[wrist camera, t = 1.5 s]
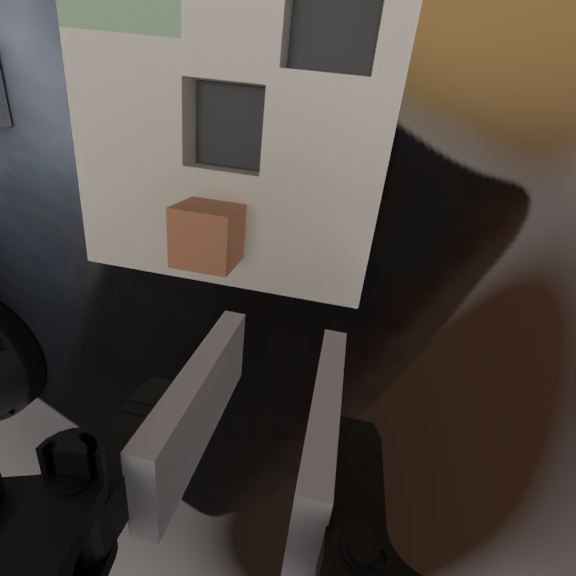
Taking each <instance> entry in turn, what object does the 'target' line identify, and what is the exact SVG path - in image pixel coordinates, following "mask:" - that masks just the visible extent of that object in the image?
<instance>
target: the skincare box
mask: <svg viewBox="0 0 576 576" xmlns="http://www.w3.org/2000/svg"><path fill="white" fill-rule="evenodd" d="M11 126H12V123H11V118H10V114H9V109H8V104H7V99H6V94H5V89H4V84H3V79H2V74H1V69H0V128H9V127H11Z"/></svg>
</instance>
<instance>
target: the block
mask: <svg viewBox="0 0 576 576" xmlns="http://www.w3.org/2000/svg"><path fill="white" fill-rule="evenodd" d="M246 207H247V204H240V203H234V202H227V201H220V200H214V199H207V198H200V197H194V196H192V197H190V198H188V199H185V200H183V201H181V202H178V203H176V204H173V205H171V206H169V207H166V221H167V255H168V268H173V269H179V270H185V271H190V272H196V273H202V274H208V275H213V276H219V277H225V278H226V277H227V276H228V275H229V273H230V272H231V271H232V270H233V269H234V268H235V267H236V266H237V264H238V263H239V262H240V261H241V260H242V259H243V256H244V240H245V224H246Z"/></svg>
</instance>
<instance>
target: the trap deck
mask: <svg viewBox="0 0 576 576" xmlns="http://www.w3.org/2000/svg"><path fill="white" fill-rule="evenodd" d="M422 1H423V0H385V1H384V0H56V6H57V14H58V22H59V30H60V38H61V46H62V54H63V62H64V71H65V79H66V87H67V95H68V103H69V111H70V119H71V127H72V135H73V143H74V151H75V159H76V167H77V175H78V184H79V192H80V200H81V208H82V216H83V224H84V232H85V240H86V248H87V256H88V261H92V262H98V263H104V264H109V265H115V266H120V267H126V268H132V269H137V270H143V271H148V272H154V273H160V274H165V275H171V276H176V277H182V278H188V279H193V280H199V281H205V282H210V283H216V284H221V285H227V286H233V287H238V288H244V289H249V290H255V291H261V292H266V293H272V294H277V295H283V296H289V297H294V298H300V299H305V300H311V301H317V302H322V303H328V304H333V305H339V306H345V307H350V308H356V309H358V306H359V301H360V297H361V292H362V287H363V282H364V278H365V273H366V268H367V263H368V259H369V254H370V249H371V244H372V240H373V235H374V230H375V225H376V220H377V216H378V211H379V206H380V201H381V197H382V192H383V187H384V182H385V178H386V173H387V168H388V163H389V159H390V154H391V149H392V144H393V140H394V135H395V130H396V125H397V121H398V116H399V111H400V106H401V102H402V97H403V92H404V87H405V82H406V77H407V73H408V68H409V63H410V59H411V54H412V49H413V44H414V40H415V34H416V30H417V25H418V21H419V16H420V11H421V6H422ZM293 2H294V3H293ZM383 2H384V6H383ZM382 7H383V12H382ZM292 12H293V14H292ZM381 13H382V19H381ZM380 19H381V24H380ZM291 23H292V25H291ZM379 25H380V29H379ZM378 30H379V35H378ZM290 34H291V36H290ZM377 36H378V41H377ZM376 42H377V47H376ZM289 45H290V47H289ZM375 47H376V52H375ZM374 53H375V58H374ZM288 56H289V57H288ZM373 58H374V63H373ZM372 64H373V69H372ZM287 66H288V68H287ZM371 70H372V75H371ZM370 76H371V77H370ZM198 80H204V81H198ZM207 81H213V82H207ZM216 82H222V83H216ZM225 83H231V84H225ZM234 84H240V85H234ZM243 85H249V86H243ZM252 86H258V87H252ZM261 87H266V88H261ZM197 162H199V163H197ZM204 163H206V164H204ZM211 164H213V165H211ZM218 165H221V166H218ZM226 166H228V167H226ZM233 167H235V168H233ZM240 168H242V169H240ZM247 169H250V170H247ZM255 170H257V171H255ZM192 196H194V197H200V198H207V199H214V200H220V201H227V202H234V203H240V204H247V207H246V224H245V240H244V256H243V259H242V260H241V261H240V262H239V263H238V264H237V266H236V267H235V268H234V269H233V270H232V271H231V272H230V273H229V275H228V276H227V277H226V278H225V277H219V276H213V275H208V274H202V273H196V272H190V271H185V270H179V269H173V268H168V255H167V221H166V207H169V206H171V205H173V204H176V203H178V202H181V201H183V200H185V199H188V198H190V197H192Z"/></svg>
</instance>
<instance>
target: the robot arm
mask: <svg viewBox="0 0 576 576" xmlns="http://www.w3.org/2000/svg"><path fill="white" fill-rule="evenodd" d="M244 325H245V314H240V313H235V312H229V311H225V312H224V313H223V314H222V316H221V317H220V318H219V320H218V321H217V323H216V324H215V325H214V327H213V328H212V329H211V331H210V332H209V333H208V335H207V336H206V337H205V339H204V340H203V342H202V343H201V344H200V346H199V347H198V348H197V350H196V351H195V352H194V354H193V355H192V356H191V358H190V359H189V361H188V362H187V363H186V365H185V366H184V367H183V369H182V370H181V371H180V373H179V374H178V375H177V377H176V378H175V379H174V381H170V380H165V379H161V378H156V377H154V378H152V379H151V380H149V381H147V382H146V383H144V384H142V385H141V386H139V387H138V388H137V389H136V390H135V392H134V393H133V394H132V395H131V396H130V397H129V399H128V401H127V402H125V403H124V405H123V406H122V407H121V408H120V409H119V412H118V413H116V414H115V415H114V416H113V417H112V419H111V420H110V421H109V422H108V423H107V424H106V426H105V427H104V428H103V429H102V430H101V431H100V433H98V432H97V431H96V430H92V429H89V428H71V429H67V430H64V431H61V432H58V433H56V434H54V435H52V436H51V437H49V438H47V439H45V440H44V442H42V443H41V444H40V445H39V446H38V447H37V448H36V453H37V457H38V461H39V465H40V469H41V474H40V475H30V476H14V477H1V473H0V576H108V575H109V572H110V570H111V568H112V565H113V563H114V560H115V558H116V554H117V549H118V543H117V539H118V536H119V535H120V533H121V532H122V530H123V528H124V527H125V525H126V523H127V522H128V528H129V535H130V536H132V537H136V538H140V539H143V540H147V541H151V542H154V543H158V544H159V543H160V541H161V539H162V537H163V535H164V533H165V531H166V529H167V527H168V525H169V523H170V521H171V518H172V516H173V514H174V512H175V510H176V508H177V506H178V504H179V502H180V500H181V498H182V496H183V494H184V492H185V490H186V488H187V486H188V483H189V481H190V479H191V477H192V475H193V473H194V471H195V469H196V467H197V465H198V463H199V461H200V459H201V457H202V455H203V453H204V450H205V448H206V446H207V444H208V442H209V440H210V438H211V436H212V434H213V432H214V430H215V428H216V426H217V424H218V422H219V420H220V418H221V415H222V413H223V411H224V409H225V407H226V405H227V403H228V401H229V399H230V397H231V395H232V393H233V391H234V389H235V387H236V385H237V383H238V380H239V378H240V376H241V369H242V355H243V340H244ZM346 335H347V333H342V332H336V331H331V330H326V329H325V334H324V339H323V345H322V350H321V355H320V361H319V366H318V372H317V377H316V383H315V388H314V393H313V399H312V404H311V410H310V415H309V421H308V426H307V432H306V437H305V442H304V448H303V453H302V459H301V464H300V470H299V475H298V480H297V486H296V491H295V497H294V503H293V509H292V515H291V521H290V526H289V532H288V538H287V544H286V550H285V556H284V561H283V567H282V573H281V576H422V575H421V574H419V573H417V572H416V571H415V570H413V569H412V568H411V567H409V566H408V565H407V564H406V563H405V562H404V561H403V560H402V559H401V557H400V556H399V555H398V554H397V552H396V551H395V549H394V547H393V546H392V544H391V541H390V539H389V536H388V533H387V526H386V512H385V494H384V477H383V459H382V442H381V437H380V435H379V433H378V431H377V430H376V428H375V426H374V424H373V423H371V422H366V421H362V420H357V419H353V418H348V417H343V416H340V412H341V399H342V387H343V374H344V361H345V348H346ZM45 378H46V371H45V364H44V360H43V357H42V354H41V351H40V349H39V347H38V345H37V343H36V341H35V340H34V338H33V336H32V335H31V333H30V332H29V331H28V329H27V328H26V327H25V326H24V325H23V323H22V322H21V321H20V320H19V319H18V318H17V317H16V316H15V315H14V314H13V313H12V312H10V311H9V310H8V309H7V308H6V307H4V306H3V305H2V304H0V420H3V419H7V418H9V417H11V416H13V415H15V414H17V413H18V412H20V411H21V410H23V409H24V408H25V407H26V406H27V405H29V404H30V403H31V402H32V401H33V400H35V399H36V398H37V397H38V396H39V394H40V393H41V391H42V389H43V387H44V384H45Z"/></svg>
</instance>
